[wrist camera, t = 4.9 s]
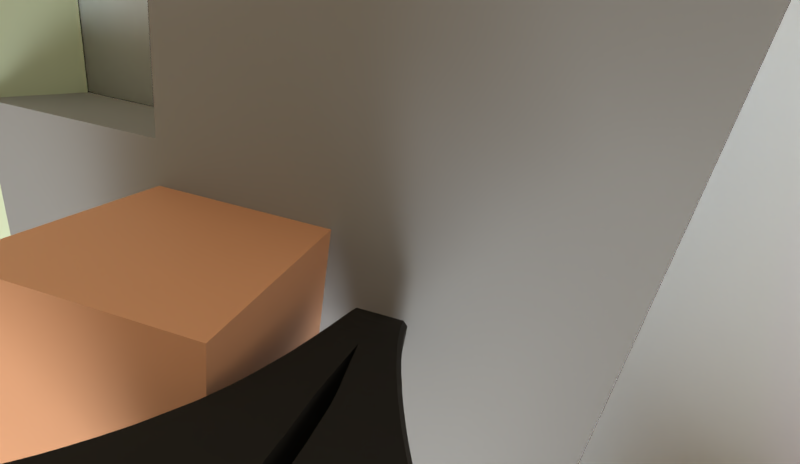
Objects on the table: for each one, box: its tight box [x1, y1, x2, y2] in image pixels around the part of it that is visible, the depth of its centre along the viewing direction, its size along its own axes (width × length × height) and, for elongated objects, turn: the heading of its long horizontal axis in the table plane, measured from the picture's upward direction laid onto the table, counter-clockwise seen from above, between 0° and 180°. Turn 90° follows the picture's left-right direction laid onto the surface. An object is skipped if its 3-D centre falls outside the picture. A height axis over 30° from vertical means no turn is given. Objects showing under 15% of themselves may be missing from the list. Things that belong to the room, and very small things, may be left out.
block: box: [0, 186, 331, 464], centre depth 9 cm, size 4×4×4 cm
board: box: [0, 0, 791, 464], centre depth 12 cm, size 23×16×6 cm
